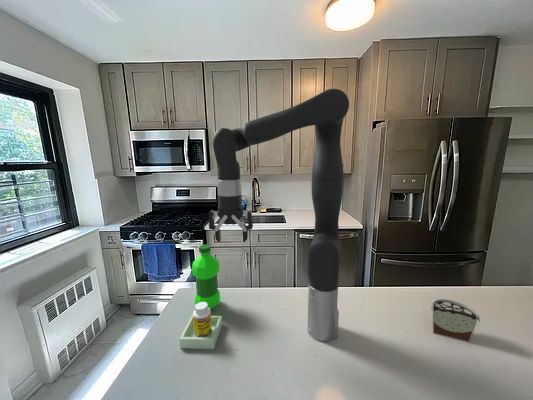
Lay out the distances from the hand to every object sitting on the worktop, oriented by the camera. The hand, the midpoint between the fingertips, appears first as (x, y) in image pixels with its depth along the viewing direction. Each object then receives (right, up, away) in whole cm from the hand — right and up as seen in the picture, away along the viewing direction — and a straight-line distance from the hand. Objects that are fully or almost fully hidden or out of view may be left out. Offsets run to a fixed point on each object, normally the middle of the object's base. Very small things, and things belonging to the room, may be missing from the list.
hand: (231, 241), depth 76 cm
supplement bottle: (-9, -30, -1) cm, 32 cm away
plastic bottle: (-11, -28, +14) cm, 34 cm away
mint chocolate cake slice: (+72, -30, -1) cm, 78 cm away
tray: (-9, -31, -1) cm, 32 cm away
